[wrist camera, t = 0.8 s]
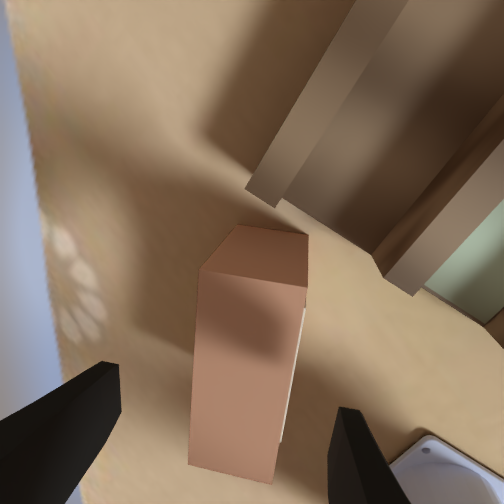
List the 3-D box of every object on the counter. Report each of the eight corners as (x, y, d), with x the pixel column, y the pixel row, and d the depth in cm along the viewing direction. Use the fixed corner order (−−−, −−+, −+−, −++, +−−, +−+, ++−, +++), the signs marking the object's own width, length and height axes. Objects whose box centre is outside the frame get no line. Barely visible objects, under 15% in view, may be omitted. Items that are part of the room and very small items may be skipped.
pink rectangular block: (311, 234, 18) (311, 288, 12) (285, 380, 22) (275, 485, 15) (235, 223, 19) (194, 268, 12) (221, 367, 22) (184, 463, 16)
